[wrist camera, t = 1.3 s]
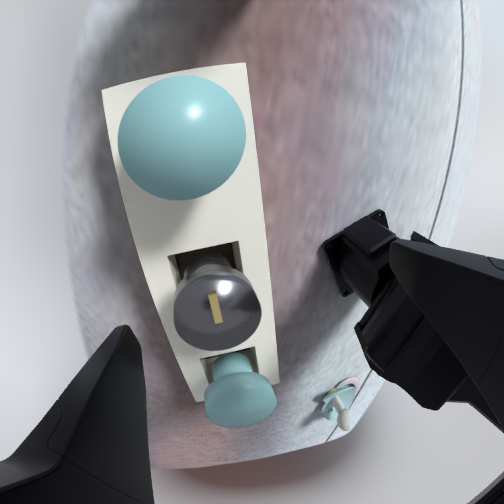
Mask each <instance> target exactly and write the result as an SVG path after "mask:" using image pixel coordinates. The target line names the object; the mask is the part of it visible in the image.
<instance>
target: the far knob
mask: <svg viewBox="0 0 504 504" xmlns="http://www.w3.org/2000/svg"><path fill="white" fill-rule="evenodd" d="M212 373H213V379H214V381H213V382H212V383H211V384H210V385H209V386H208V387H207V388H206V390H205V392H204V401H205V407H206V413H207V417H208V419H209V420H210V421H211V422H213V423H214V424H216V425H219V426H223V427H242V426H247V425H251V424H254V423H257V422H259V421H261V420H263V419H264V418H266V417H267V416H269V415H270V414H271V413H272V412H273V411H274V409H275V408H276V405H277V399H276V396H275V394H274V391H273V388H272V386H271V383H270V381H269V380H268V378H266V377H265V376H263V375H261V374H259V373H255V372H253V371H252V368H251V365H250V362H249V359H248V358H247V357H246V356H245V355H243V354H240V353H227V354H224V355H221V356H220V357H218V358H217V359H216V360H215V361H214V362H213V364H212Z"/></svg>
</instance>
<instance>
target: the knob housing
mask: <svg viewBox="0 0 504 504" xmlns="http://www.w3.org/2000/svg"><path fill="white" fill-rule="evenodd" d="M178 75H191V76H198V77H202V78H205V79H208V80H210V81H213V82H215V83H216V84H218V85H220V86H221V87H223V88H224V89H225V90H226V91H227V92H228V93H229V94H230V95H231V96H232V97H233V98H234V100H235V101H236V102H237V104H238V106H239V108H240V110H241V112H242V114H243V117H244V121H245V126H246V144H245V149H244V153H243V156H242V158H241V161H240V163H239V165H238V167H237V168H236V170H235V171H234V173H233V174H232V175H231V176H230V178H229V179H228V180H227V181H226V182H225V183H223V184H222V185H221V186H220V187H218V188H217V189H216V190H214V191H212V192H210V193H209V194H206V195H204V196H202V197H198V198H195V199H190V200H177V201H176V200H167V199H163V198H159V197H156V196H154V195H152V194H150V193H148V192H146V191H144V190H143V189H142V188H140V187H139V186H138V185H137V184H136V183H135V182H134V181H133V180H132V179H131V178H130V177H129V175H128V174H127V172H126V171H125V169H124V167H123V165H122V162H121V160H120V156H119V152H118V130H119V125H120V122H121V119H122V117H123V114H124V112H125V110H126V109H127V107H128V105H129V104H130V103H131V101H132V100H133V99H134V97H136V96H137V95H138V94H139V93H140V92H141V91H142V90H143V89H145V88H146V87H147V86H149V85H151V84H153V83H154V82H156V81H159V80H161V79H164V78H167V77H171V76H178ZM102 97H103V104H104V111H105V117H106V123H107V129H108V134H109V140H110V145H111V150H112V155H113V160H114V165H115V169H116V174H117V178H118V182H119V187H120V191H121V195H122V199H123V203H124V207H125V210H126V214H127V218H128V222H129V225H130V229H131V232H132V236H133V239H134V243H135V246H136V249H137V252H138V256H139V259H140V262H141V265H142V268H143V271H144V274H145V277H146V280H147V283H148V286H149V289H150V292H151V295H152V298H153V300H154V303H155V306H156V309H157V311H158V314H159V317H160V319H161V322H162V324H163V327H164V330H165V332H166V335H167V337H168V340H169V342H170V345H171V347H172V349H173V352H174V354H175V356H176V359H177V361H178V363H179V366H180V368H181V370H182V373H183V375H184V377H185V379H186V381H187V384H188V386H189V388H190V390H191V392H192V394H193V397H194V399H195V401H196V402H201V401H204V392H205V390H206V388H207V387H208V386H209V385H210V384H211V383H212V382H213V381H214V379H213V373H212V364H213V362H214V361H215V360H216V359H217V358H218V357H215V358H210V359H205V357H210V356H215V355H219V354H224V353H228V352H233V351H237V350H241V349H245V348H249V347H250V349H249V350H245V351H241V352H237V353H240V354H243V355H245V356H246V357H247V358H248V359H249V362H250V365H251V368H252V371H253V372H255V373H259V374H261V375H263V376H265V377H266V378H268V380H269V381H270V383H271V385H274V384H278V383H280V379H279V368H278V356H277V345H276V334H275V323H274V313H273V302H272V292H271V282H270V272H269V262H268V252H267V242H266V233H265V223H264V214H263V205H262V196H261V187H260V178H259V169H258V160H257V152H256V143H255V135H254V127H253V118H252V110H251V102H250V94H249V86H248V78H247V71H246V63H236V64H226V65H217V66H209V67H202V68H195V69H189V70H183V71H177V72H172V73H167V74H162V75H157V76H152V77H148V78H144V79H139V80H135V81H131V82H128V83H124V84H120V85H117V86H113V87H110V88H107V89H103V90H102ZM229 242H232V247H233V253H234V259H235V265H236V270H238V271H239V272H241V273H242V274H244V275H245V276H246V277H247V278H248V280H249V281H250V283H251V284H252V286H253V289H254V291H255V293H256V295H257V298H258V300H259V302H260V305H261V310H262V315H261V321H260V324H259V326H258V328H257V329H256V331H255V332H254V333H253V335H252V336H251V337H250V338H249V339H247V340H246V341H245V342H243V343H241V344H240V345H238V346H236V347H233V348H230V349H226V350H221V351H207V350H201V349H198V348H195V347H193V346H191V345H189V344H188V343H186V342H185V341H184V340H183V339H182V338H181V337H180V336H179V335H178V333H177V331H176V329H175V326H174V314H173V298H174V293H175V291H176V288H177V286H178V285H179V283H180V282H181V277H180V273H179V270H178V266H177V262H176V258H175V255H174V254H178V253H182V252H187V251H192V250H196V249H201V248H206V247H210V246H215V245H220V244H225V243H229ZM219 357H220V356H219Z"/></svg>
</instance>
